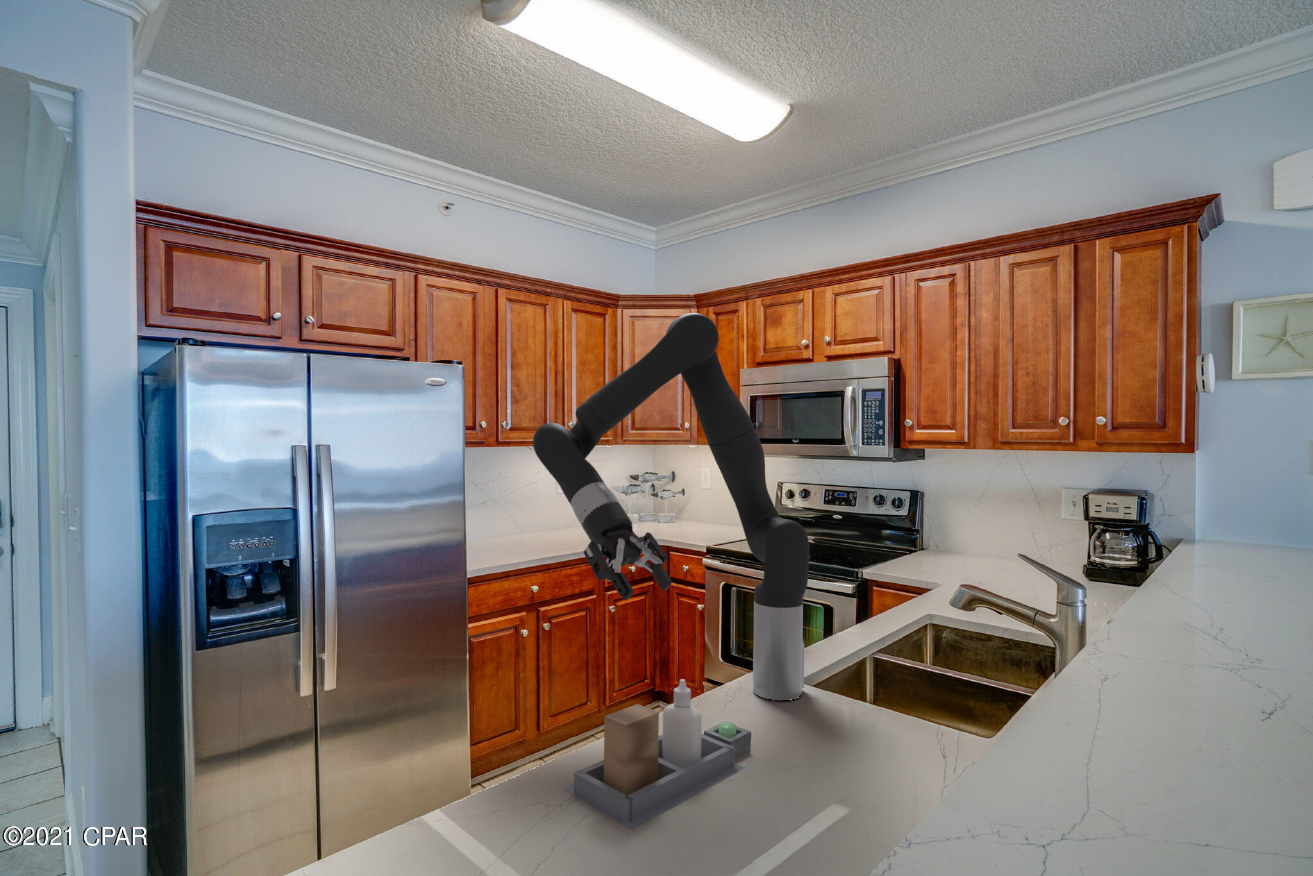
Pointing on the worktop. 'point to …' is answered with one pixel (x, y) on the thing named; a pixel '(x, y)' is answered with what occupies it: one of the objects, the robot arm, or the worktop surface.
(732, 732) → the button
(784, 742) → the worktop surface
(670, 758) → the eye dropper bottle
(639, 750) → the walnut block
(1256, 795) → the worktop surface
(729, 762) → the tray
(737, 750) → the button box
